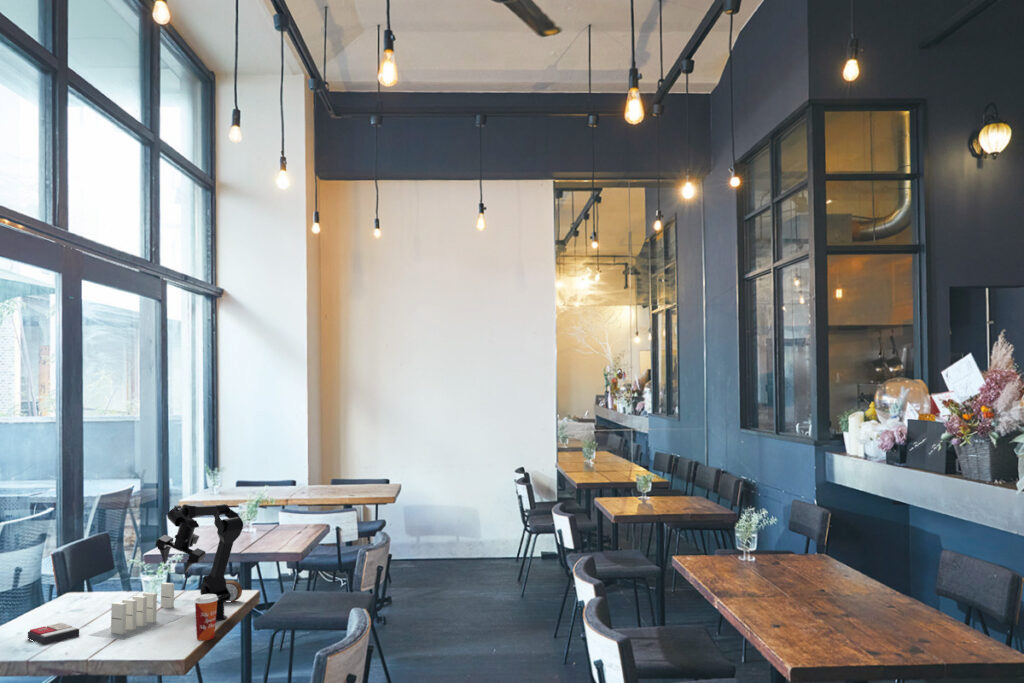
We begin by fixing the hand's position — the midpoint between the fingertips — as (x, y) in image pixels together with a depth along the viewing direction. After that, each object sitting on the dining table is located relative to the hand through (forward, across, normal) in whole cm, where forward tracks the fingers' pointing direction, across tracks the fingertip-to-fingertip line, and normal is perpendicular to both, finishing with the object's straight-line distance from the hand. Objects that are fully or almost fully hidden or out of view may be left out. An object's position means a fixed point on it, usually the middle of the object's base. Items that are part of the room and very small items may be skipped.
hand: (175, 567), depth 287 cm
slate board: (+9, -6, +27) cm, 29 cm away
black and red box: (+15, +15, +41) cm, 47 cm away
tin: (+11, -20, -7) cm, 24 cm away
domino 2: (+8, -4, +31) cm, 32 cm away
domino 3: (+8, -6, +27) cm, 29 cm away
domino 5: (+14, -4, +5) cm, 16 cm away
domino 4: (+8, -7, +22) cm, 25 cm away
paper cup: (-4, -34, +35) cm, 49 cm away
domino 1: (+7, -3, +36) cm, 36 cm away
